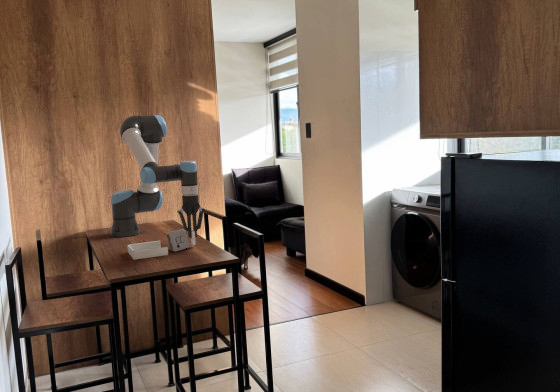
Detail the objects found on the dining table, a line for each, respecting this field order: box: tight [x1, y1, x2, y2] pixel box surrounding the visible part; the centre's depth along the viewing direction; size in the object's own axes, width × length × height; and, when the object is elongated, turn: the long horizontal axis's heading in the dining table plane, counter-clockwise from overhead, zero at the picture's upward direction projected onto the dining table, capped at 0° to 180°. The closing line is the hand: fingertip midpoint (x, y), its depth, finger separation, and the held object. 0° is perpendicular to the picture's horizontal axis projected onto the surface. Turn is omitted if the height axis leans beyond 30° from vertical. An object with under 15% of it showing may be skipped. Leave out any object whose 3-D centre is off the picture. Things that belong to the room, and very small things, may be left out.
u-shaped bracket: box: [127, 240, 169, 260], centre depth 240 cm, size 16×15×4 cm
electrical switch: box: [166, 228, 191, 252], centre depth 246 cm, size 9×5×9 cm, turn 141°
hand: (193, 244), depth 249 cm, fingers closed
